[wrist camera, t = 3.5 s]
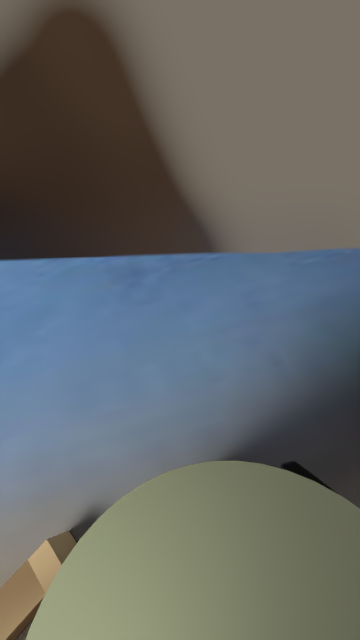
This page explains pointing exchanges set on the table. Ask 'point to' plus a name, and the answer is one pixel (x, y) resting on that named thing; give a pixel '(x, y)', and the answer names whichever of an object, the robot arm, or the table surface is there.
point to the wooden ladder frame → (31, 585)
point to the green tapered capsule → (212, 562)
